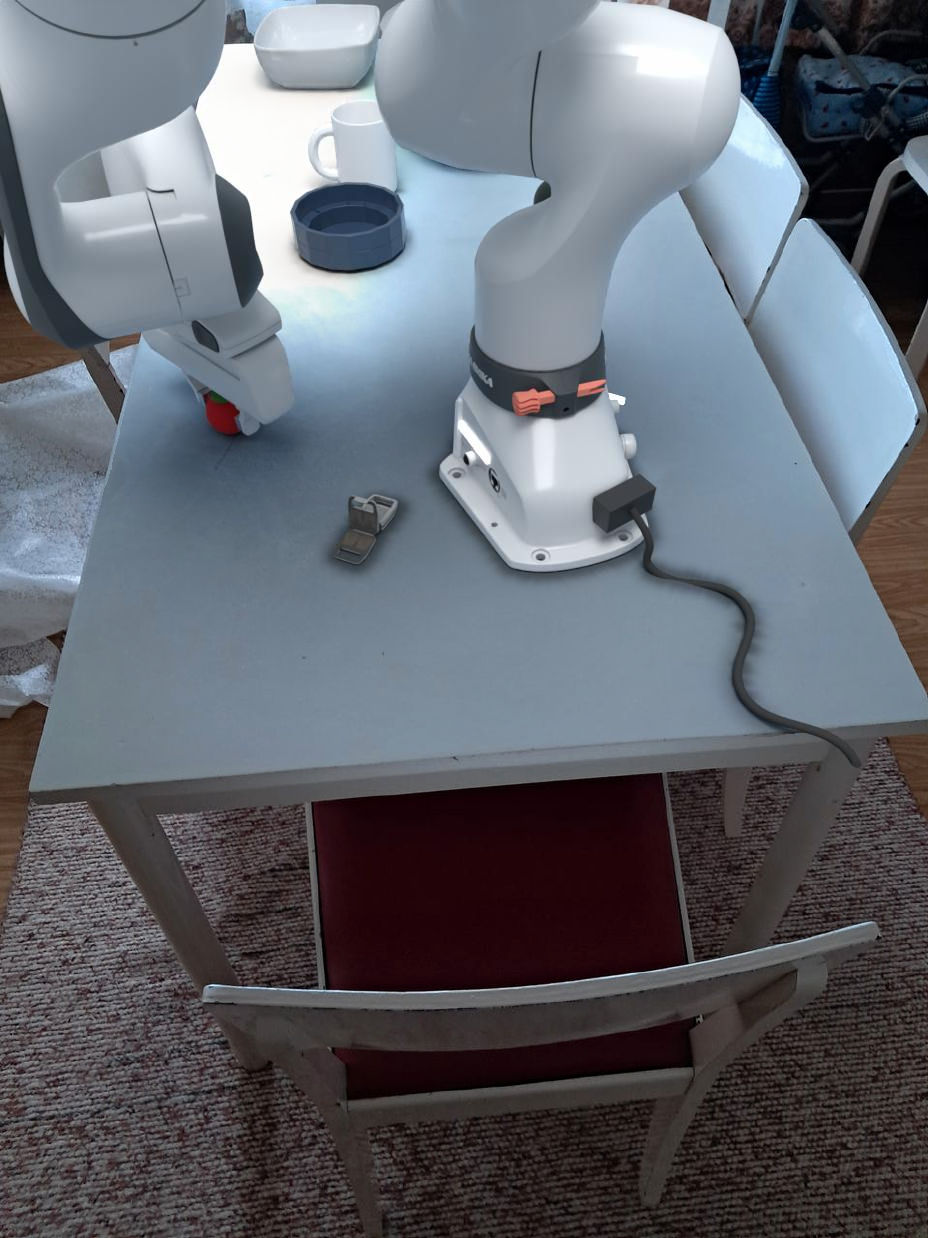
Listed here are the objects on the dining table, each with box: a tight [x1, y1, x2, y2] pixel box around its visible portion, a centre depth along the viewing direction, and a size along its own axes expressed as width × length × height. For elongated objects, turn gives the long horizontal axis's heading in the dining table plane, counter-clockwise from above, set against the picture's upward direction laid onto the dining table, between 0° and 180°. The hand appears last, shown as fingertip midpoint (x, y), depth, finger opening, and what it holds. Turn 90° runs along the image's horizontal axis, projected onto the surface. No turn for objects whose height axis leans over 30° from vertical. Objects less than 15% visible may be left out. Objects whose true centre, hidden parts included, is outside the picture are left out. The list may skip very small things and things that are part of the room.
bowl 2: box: [289, 182, 407, 271], centre depth 112 cm, size 14×14×5 cm
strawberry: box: [205, 390, 241, 435], centre depth 89 cm, size 4×4×5 cm
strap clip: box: [332, 493, 399, 565], centre depth 80 cm, size 8×3×4 cm, turn 157°
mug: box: [307, 99, 398, 193], centre depth 120 cm, size 12×8×10 cm
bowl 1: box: [253, 3, 381, 90], centre depth 148 cm, size 20×20×8 cm
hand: (228, 416), depth 89 cm, fingers open, 5 cm apart
